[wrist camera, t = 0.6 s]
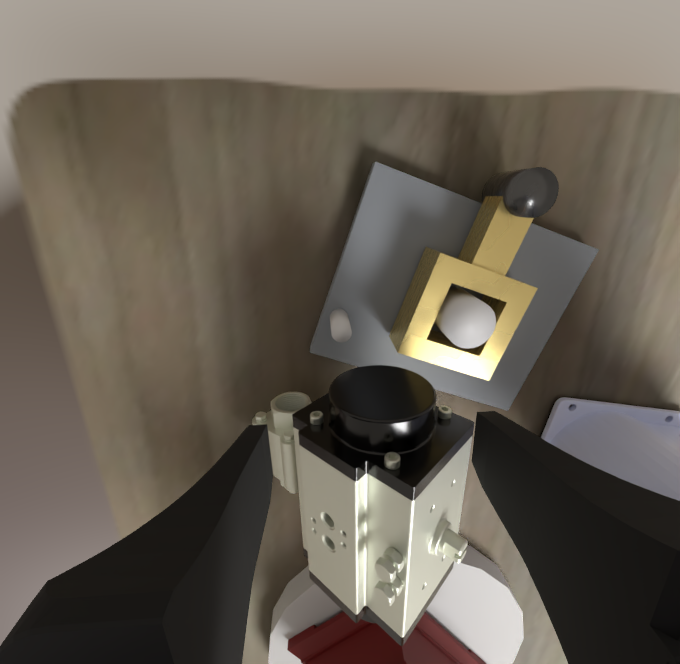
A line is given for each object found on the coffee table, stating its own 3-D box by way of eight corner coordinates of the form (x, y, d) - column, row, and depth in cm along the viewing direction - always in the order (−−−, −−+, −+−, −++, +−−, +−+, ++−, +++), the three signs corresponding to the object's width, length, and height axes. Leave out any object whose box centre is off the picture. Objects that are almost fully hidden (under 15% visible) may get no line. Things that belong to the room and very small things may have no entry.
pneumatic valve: (298, 327, 21) (508, 402, 14) (309, 480, 26) (471, 600, 18) (212, 360, 18) (435, 487, 10) (242, 532, 22) (412, 709, 15)
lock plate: (586, 247, 21) (649, 258, 17) (500, 402, 24) (536, 442, 20) (372, 163, 19) (387, 153, 15) (310, 345, 22) (308, 378, 18)
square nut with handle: (556, 192, 18) (598, 191, 16) (470, 361, 21) (494, 386, 19) (464, 154, 18) (492, 145, 15) (388, 336, 21) (400, 357, 18)
